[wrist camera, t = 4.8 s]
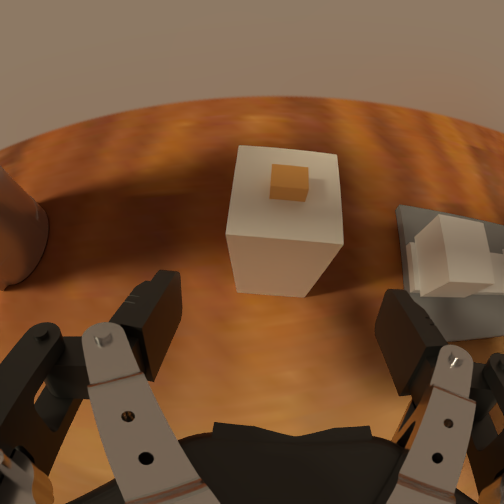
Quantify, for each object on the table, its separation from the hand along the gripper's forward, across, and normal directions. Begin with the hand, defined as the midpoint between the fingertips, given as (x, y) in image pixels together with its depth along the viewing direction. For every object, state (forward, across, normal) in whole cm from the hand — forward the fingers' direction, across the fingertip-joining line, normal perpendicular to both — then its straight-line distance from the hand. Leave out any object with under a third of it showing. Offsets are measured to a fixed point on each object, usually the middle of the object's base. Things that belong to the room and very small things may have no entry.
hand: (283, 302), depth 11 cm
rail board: (+11, -20, +4) cm, 23 cm away
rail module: (+11, 0, +4) cm, 11 cm away
